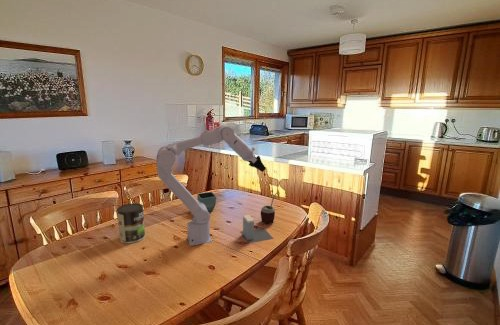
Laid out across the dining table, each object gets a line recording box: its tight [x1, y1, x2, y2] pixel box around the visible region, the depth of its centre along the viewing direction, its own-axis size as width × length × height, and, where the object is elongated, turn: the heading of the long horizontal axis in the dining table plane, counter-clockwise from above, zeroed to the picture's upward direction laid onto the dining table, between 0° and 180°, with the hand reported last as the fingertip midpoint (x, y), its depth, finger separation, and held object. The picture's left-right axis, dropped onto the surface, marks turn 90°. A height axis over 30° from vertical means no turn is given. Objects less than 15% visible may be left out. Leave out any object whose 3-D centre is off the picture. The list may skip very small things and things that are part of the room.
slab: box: [242, 214, 255, 240], centre depth 115 cm, size 3×6×9 cm, turn 21°
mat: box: [239, 227, 275, 244], centre depth 117 cm, size 12×11×1 cm
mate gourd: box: [260, 192, 278, 225], centre depth 129 cm, size 8×8×15 cm
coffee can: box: [116, 202, 146, 244], centre depth 112 cm, size 10×10×14 cm
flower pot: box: [196, 191, 217, 212], centre depth 143 cm, size 9×9×9 cm
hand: (261, 167), depth 116 cm, fingers open, 7 cm apart
